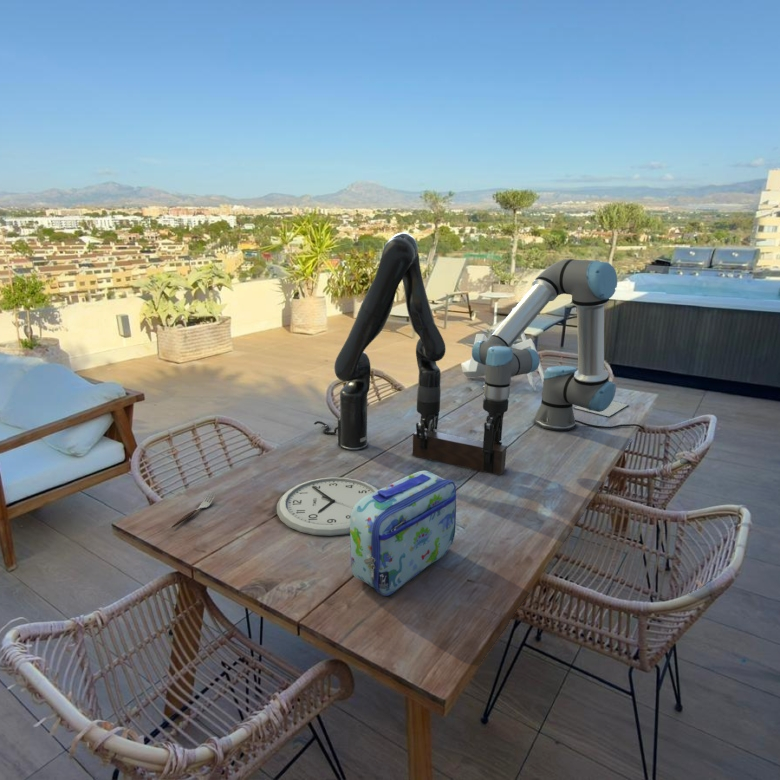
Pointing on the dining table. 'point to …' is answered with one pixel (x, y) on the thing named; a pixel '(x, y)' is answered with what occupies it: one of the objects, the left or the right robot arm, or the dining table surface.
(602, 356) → the right robot arm
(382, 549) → the lunch box
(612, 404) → the invitation card
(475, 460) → the walnut beam
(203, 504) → the fork
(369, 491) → the wall clock
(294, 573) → the dining table surface
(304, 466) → the dining table surface
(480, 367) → the white plastic object
